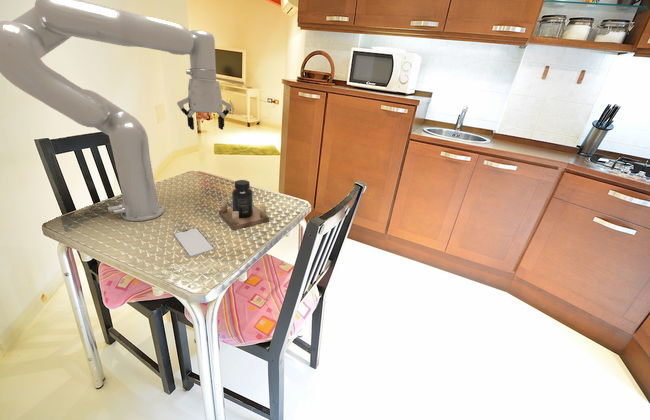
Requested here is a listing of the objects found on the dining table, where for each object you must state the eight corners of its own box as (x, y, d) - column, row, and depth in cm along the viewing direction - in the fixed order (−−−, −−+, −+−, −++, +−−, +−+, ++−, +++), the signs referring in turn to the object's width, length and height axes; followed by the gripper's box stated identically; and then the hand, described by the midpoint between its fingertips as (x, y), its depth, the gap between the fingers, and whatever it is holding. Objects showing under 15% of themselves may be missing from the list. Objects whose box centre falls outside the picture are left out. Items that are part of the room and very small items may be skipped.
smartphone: (189, 257, 80) (172, 233, 90) (189, 259, 81) (172, 235, 90) (215, 249, 85) (196, 227, 95) (215, 250, 85) (196, 229, 95)
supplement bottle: (256, 212, 105) (256, 181, 100) (245, 220, 99) (244, 187, 94) (241, 208, 107) (240, 177, 102) (228, 215, 102) (227, 182, 96)
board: (233, 230, 96) (232, 215, 93) (218, 214, 105) (217, 200, 102) (269, 221, 103) (269, 207, 101) (252, 207, 112) (252, 194, 110)
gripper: (176, 73, 87) (182, 131, 94) (234, 78, 97) (235, 131, 104) (172, 71, 93) (177, 126, 100) (226, 77, 102) (228, 127, 109)
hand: (206, 128), depth 102 cm, fingers open, 9 cm apart
